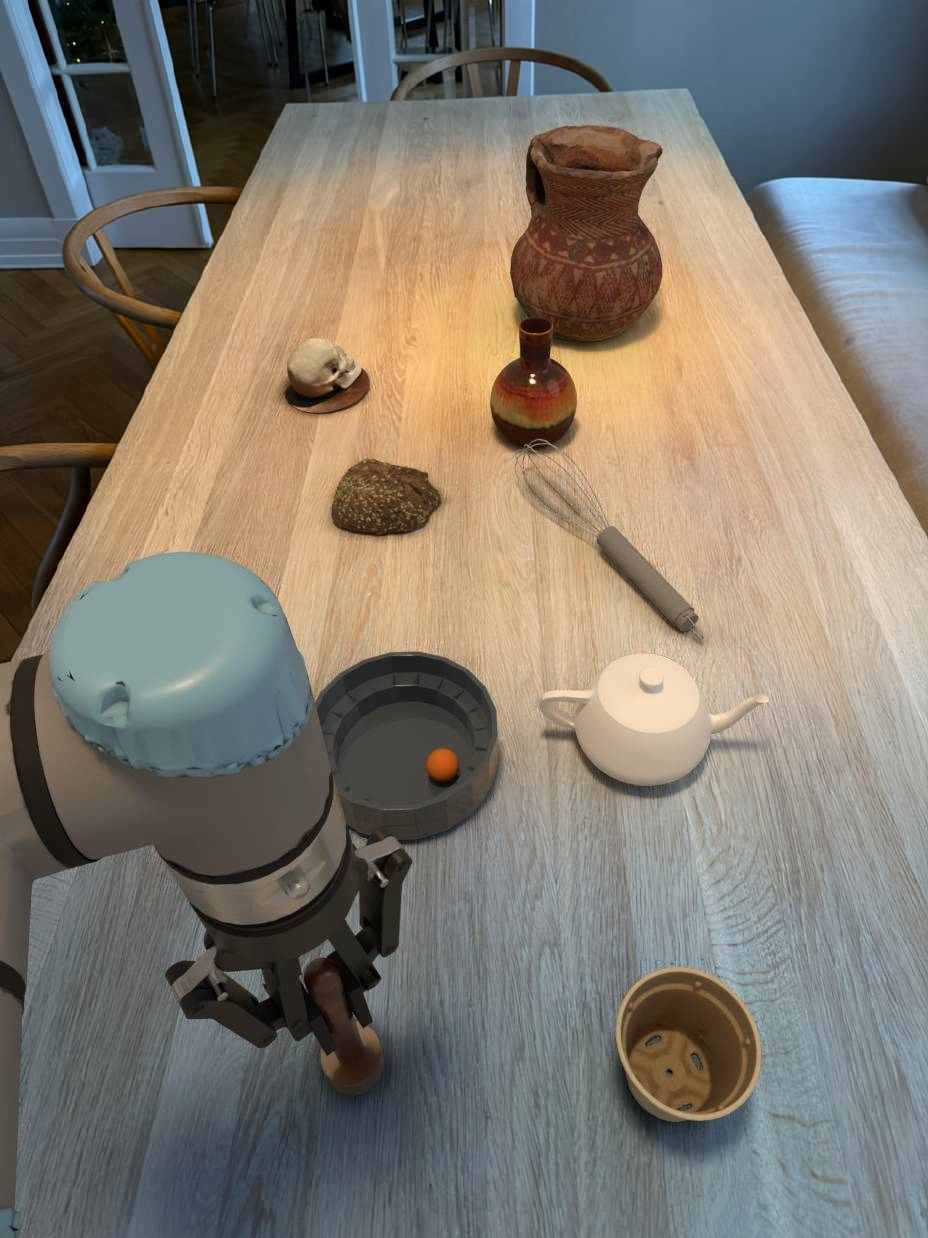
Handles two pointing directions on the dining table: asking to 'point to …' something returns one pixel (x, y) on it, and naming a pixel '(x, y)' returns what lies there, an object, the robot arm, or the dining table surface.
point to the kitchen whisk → (626, 556)
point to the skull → (323, 377)
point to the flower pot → (687, 1045)
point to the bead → (442, 765)
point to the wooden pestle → (343, 1033)
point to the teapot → (643, 719)
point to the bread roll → (383, 498)
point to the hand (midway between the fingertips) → (339, 1020)
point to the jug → (587, 232)
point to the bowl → (407, 742)
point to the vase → (533, 391)
